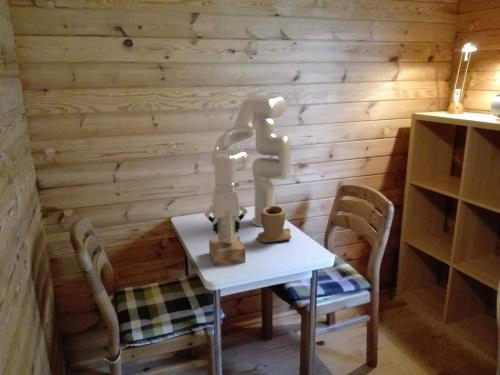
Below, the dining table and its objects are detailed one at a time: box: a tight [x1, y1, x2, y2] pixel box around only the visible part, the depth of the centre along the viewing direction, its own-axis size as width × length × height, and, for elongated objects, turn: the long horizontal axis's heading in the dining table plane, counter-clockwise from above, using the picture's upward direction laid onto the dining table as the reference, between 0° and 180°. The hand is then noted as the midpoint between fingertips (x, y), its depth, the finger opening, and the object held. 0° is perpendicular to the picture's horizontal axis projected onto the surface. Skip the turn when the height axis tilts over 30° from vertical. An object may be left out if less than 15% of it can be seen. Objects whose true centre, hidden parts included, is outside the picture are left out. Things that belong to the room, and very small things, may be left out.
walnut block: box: [208, 236, 246, 267], centre depth 157 cm, size 12×12×6 cm
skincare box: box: [216, 211, 237, 242], centre depth 154 cm, size 6×4×12 cm
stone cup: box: [257, 205, 292, 243], centre depth 172 cm, size 15×12×15 cm
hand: (226, 231), depth 155 cm, fingers closed on skincare box, 7 cm apart
